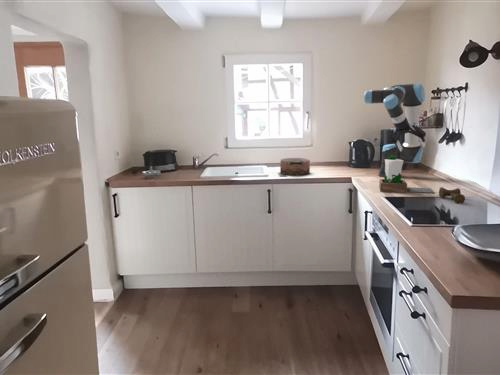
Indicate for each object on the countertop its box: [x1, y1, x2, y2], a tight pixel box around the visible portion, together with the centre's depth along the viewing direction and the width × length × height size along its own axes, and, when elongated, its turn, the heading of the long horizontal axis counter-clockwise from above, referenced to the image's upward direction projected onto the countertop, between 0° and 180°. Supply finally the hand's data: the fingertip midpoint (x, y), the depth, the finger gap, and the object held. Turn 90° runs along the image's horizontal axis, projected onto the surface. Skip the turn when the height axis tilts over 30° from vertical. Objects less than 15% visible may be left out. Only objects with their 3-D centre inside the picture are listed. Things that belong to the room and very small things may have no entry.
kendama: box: [438, 186, 466, 204], centre depth 203 cm, size 6×10×20 cm
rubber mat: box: [407, 186, 435, 195], centre depth 226 cm, size 13×13×1 cm
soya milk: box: [384, 156, 405, 183], centre depth 228 cm, size 9×9×20 cm
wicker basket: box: [279, 157, 311, 176], centre depth 295 cm, size 30×22×11 cm
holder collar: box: [378, 178, 408, 193], centre depth 230 cm, size 14×14×5 cm
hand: (412, 148), depth 229 cm, fingers open, 13 cm apart
